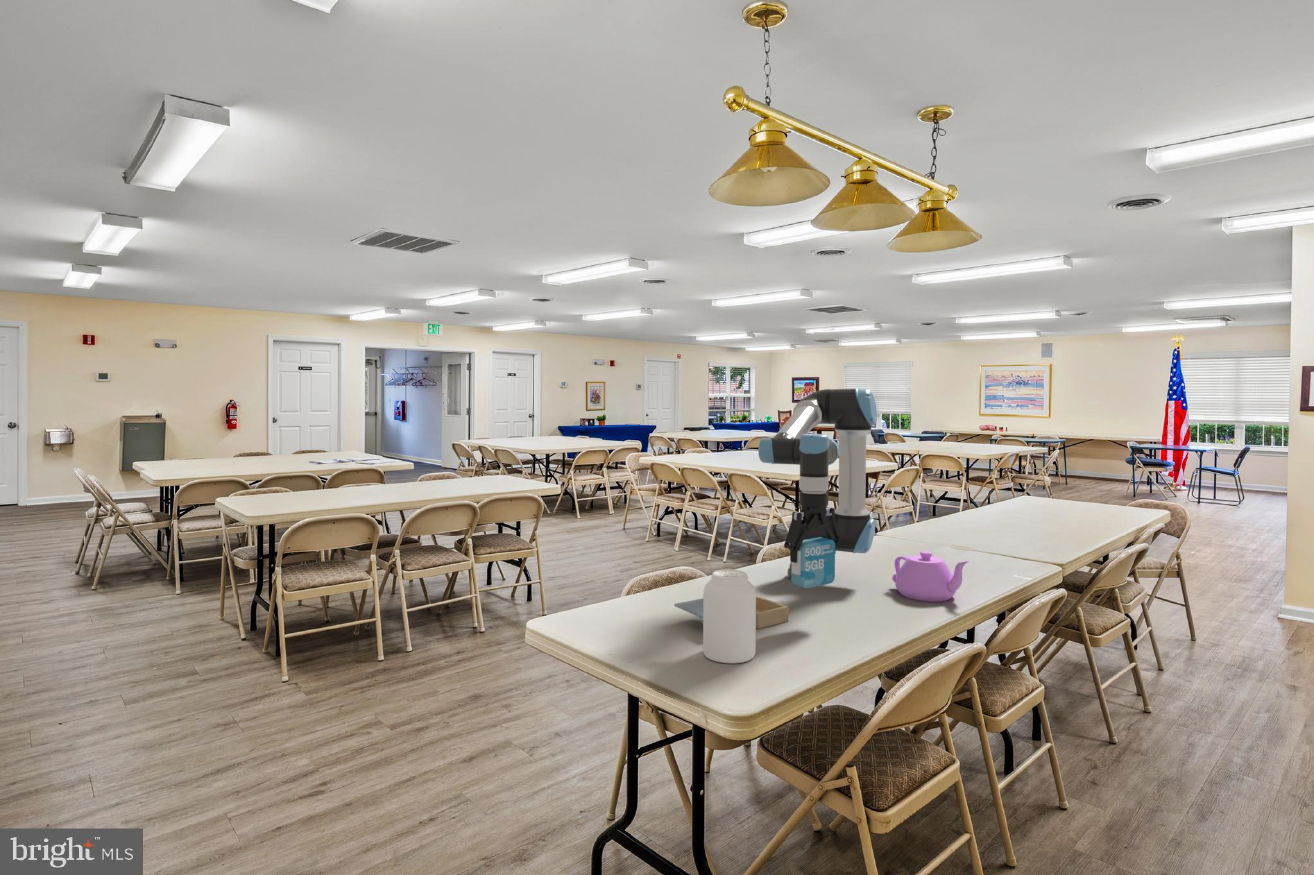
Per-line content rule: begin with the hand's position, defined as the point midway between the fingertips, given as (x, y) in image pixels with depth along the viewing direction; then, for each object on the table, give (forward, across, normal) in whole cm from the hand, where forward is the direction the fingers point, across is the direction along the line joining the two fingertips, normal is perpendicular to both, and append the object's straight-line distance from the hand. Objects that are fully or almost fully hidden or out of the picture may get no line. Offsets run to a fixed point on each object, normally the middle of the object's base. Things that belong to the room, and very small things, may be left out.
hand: (813, 570), depth 184 cm
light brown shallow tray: (+15, +10, -14) cm, 22 cm away
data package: (+4, 0, 0) cm, 4 cm away
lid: (+10, +25, -14) cm, 30 cm away
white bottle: (+14, +34, +5) cm, 37 cm away
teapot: (+16, -50, 0) cm, 53 cm away
